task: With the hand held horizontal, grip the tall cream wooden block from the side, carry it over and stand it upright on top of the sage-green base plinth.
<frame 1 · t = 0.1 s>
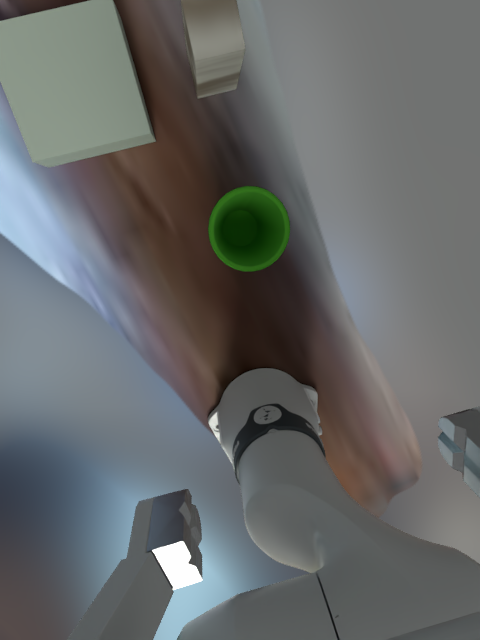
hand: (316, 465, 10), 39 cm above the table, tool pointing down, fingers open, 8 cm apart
cup: (239, 228, 46), on the table
base plinth: (83, 96, 39), on the table
cream block: (211, 71, 40), on the table
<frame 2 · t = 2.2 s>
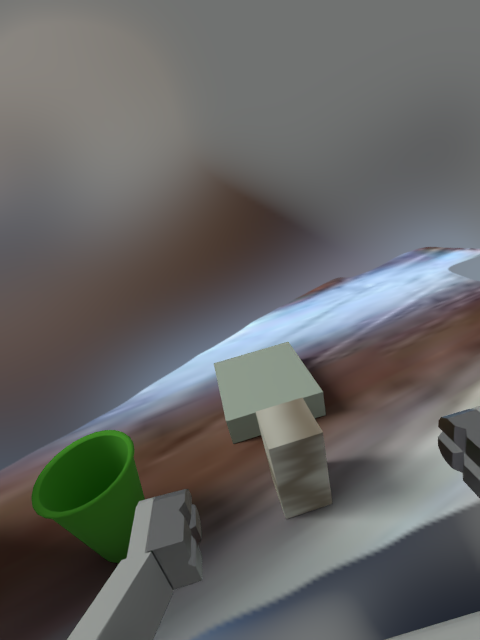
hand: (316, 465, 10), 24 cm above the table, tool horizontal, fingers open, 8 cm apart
cup: (128, 538, 34), on the table
base plinth: (266, 396, 49), on the table
cream block: (300, 489, 35), on the table
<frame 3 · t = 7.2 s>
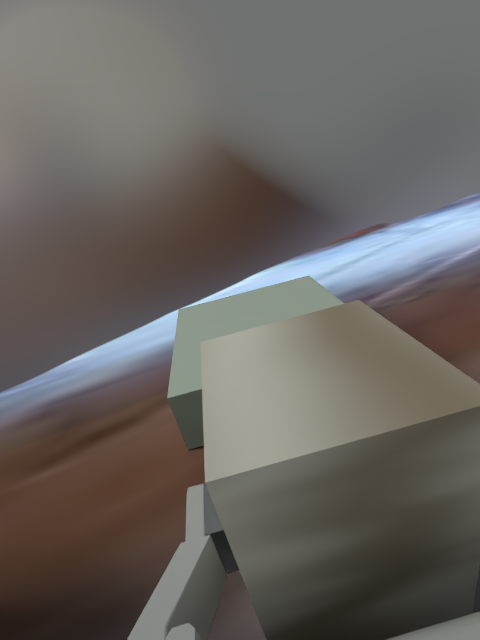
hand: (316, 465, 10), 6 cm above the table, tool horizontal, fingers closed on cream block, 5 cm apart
base plinth: (266, 363, 26), on the table
cream block: (345, 594, 11), on the table, touching gripper
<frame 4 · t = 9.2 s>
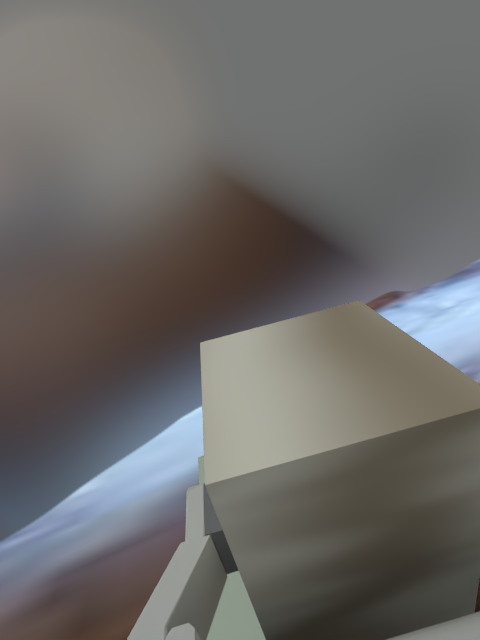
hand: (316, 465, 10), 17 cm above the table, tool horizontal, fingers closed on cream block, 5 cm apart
base plinth: (299, 543, 24), on the table
cream block: (345, 596, 11), point 11 cm above the table, touching gripper
when the fingers open (10 cm above the table, at t = 11.7 s): cream block stays where it is, resting on base plinth.
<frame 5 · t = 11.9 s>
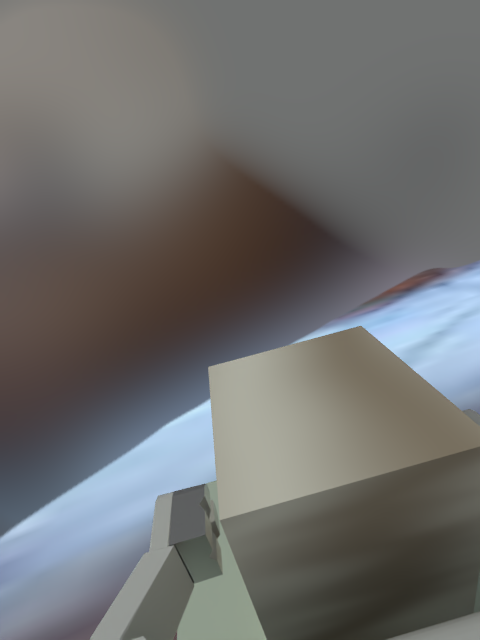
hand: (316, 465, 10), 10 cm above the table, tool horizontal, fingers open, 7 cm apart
cream block: (347, 607, 12), point 4 cm above the table, touching base plinth
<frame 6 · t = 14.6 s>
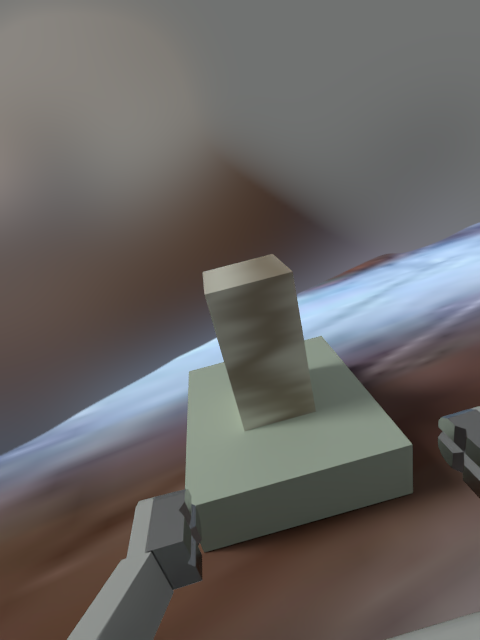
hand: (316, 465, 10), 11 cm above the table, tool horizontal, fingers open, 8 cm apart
base plinth: (280, 438, 26), on the table
cream block: (272, 398, 24), point 4 cm above the table, touching base plinth
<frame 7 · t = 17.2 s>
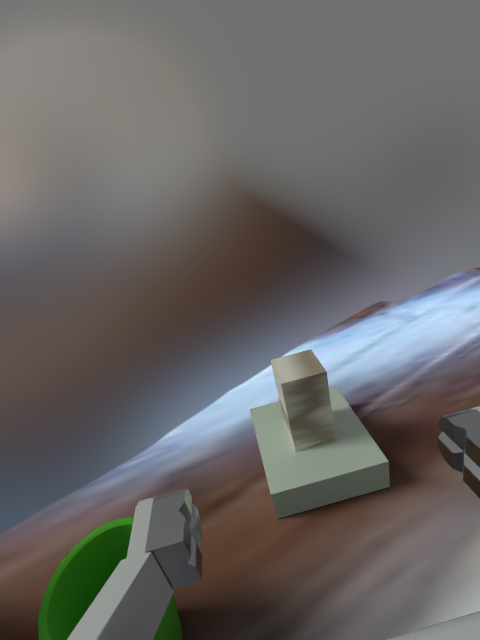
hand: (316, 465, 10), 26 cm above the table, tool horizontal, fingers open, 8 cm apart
base plinth: (312, 454, 42), on the table
cream block: (308, 431, 40), point 4 cm above the table, touching base plinth
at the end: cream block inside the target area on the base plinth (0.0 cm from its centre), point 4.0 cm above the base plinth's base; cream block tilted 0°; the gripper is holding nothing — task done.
